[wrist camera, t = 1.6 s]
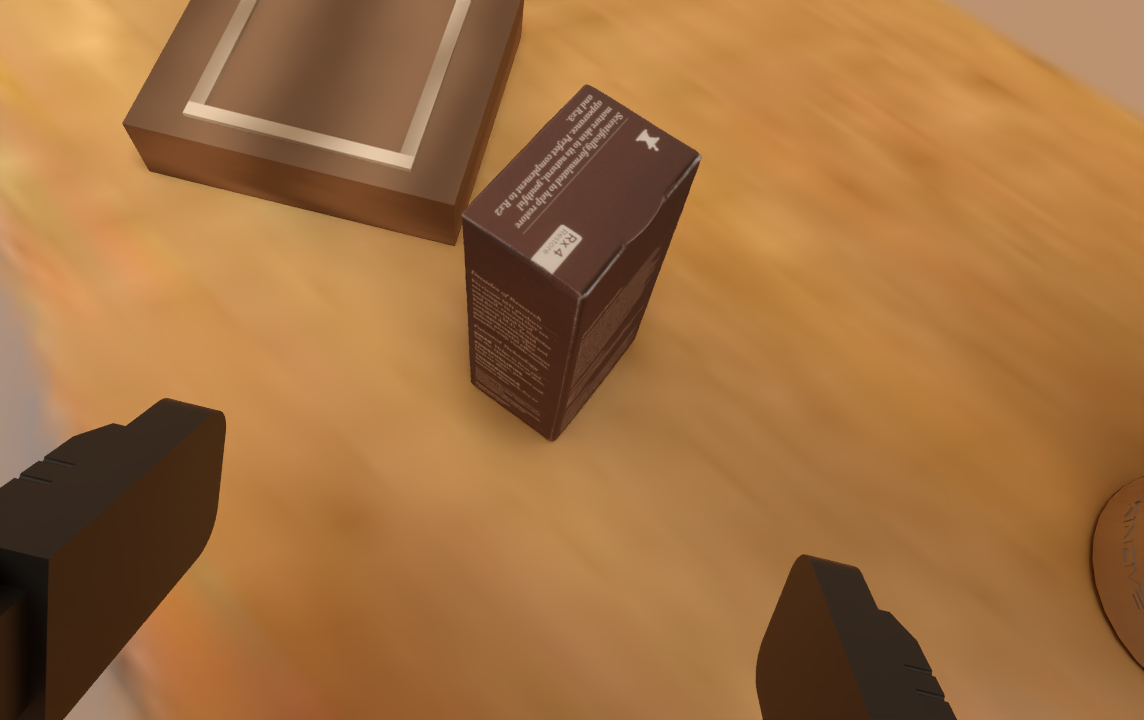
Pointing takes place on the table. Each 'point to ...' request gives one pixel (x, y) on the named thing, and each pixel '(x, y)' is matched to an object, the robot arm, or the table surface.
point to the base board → (333, 104)
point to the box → (569, 255)
